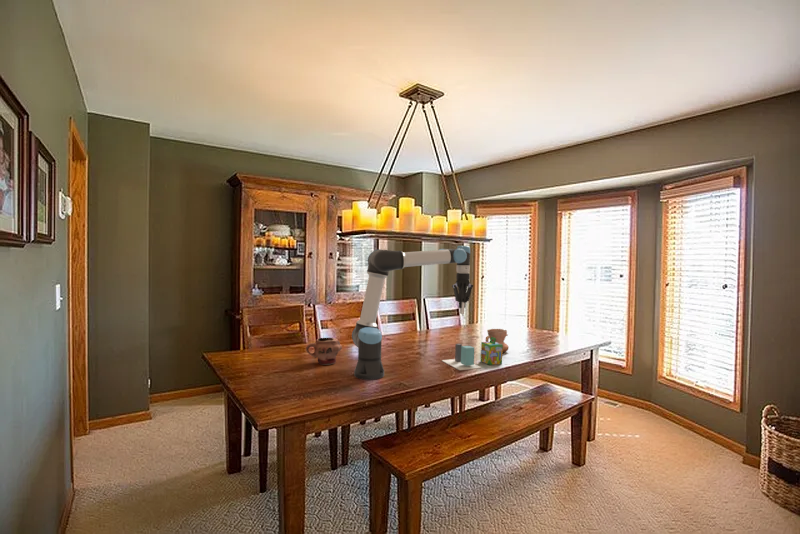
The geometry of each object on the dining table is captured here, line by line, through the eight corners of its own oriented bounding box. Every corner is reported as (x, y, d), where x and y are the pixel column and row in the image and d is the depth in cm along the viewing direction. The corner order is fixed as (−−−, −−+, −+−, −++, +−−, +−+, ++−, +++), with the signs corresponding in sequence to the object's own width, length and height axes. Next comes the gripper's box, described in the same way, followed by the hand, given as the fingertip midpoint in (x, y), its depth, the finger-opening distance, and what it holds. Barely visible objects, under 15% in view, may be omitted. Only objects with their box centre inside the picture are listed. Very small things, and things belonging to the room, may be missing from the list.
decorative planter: (309, 368, 219) (309, 342, 219) (303, 362, 230) (303, 338, 229) (344, 364, 229) (345, 339, 228) (337, 359, 239) (337, 335, 239)
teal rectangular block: (465, 365, 226) (466, 348, 226) (460, 363, 231) (461, 346, 231) (473, 364, 228) (474, 347, 228) (468, 362, 233) (469, 345, 233)
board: (459, 370, 222) (459, 369, 222) (441, 361, 240) (441, 360, 240) (481, 368, 227) (481, 367, 227) (462, 359, 246) (462, 358, 246)
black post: (457, 362, 237) (457, 344, 237) (455, 360, 239) (455, 343, 239) (461, 361, 238) (461, 344, 238) (458, 360, 240) (459, 343, 240)
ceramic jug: (499, 348, 277) (499, 327, 277) (514, 352, 265) (514, 330, 264) (478, 351, 269) (478, 329, 268) (493, 356, 256) (493, 333, 256)
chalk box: (480, 361, 242) (480, 336, 241) (493, 360, 245) (493, 335, 245) (489, 365, 233) (490, 339, 233) (502, 364, 237) (503, 338, 236)
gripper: (456, 273, 231) (455, 314, 231) (476, 273, 236) (475, 314, 236) (449, 272, 238) (448, 313, 238) (469, 272, 243) (468, 312, 243)
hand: (461, 313), depth 237 cm, fingers closed
